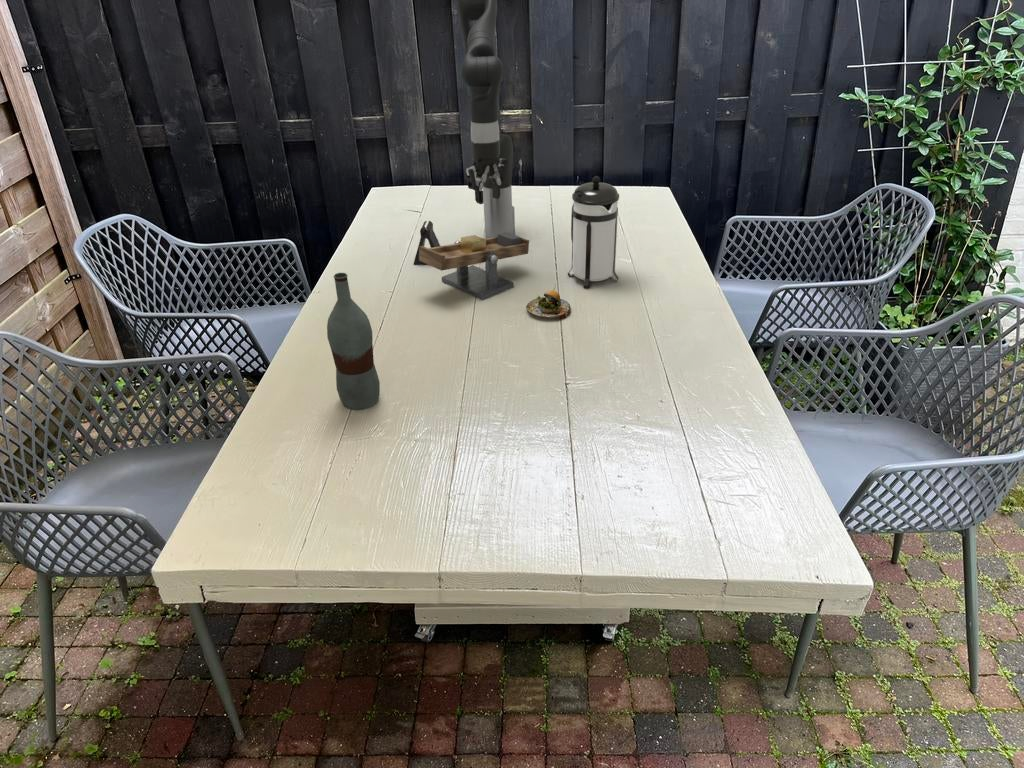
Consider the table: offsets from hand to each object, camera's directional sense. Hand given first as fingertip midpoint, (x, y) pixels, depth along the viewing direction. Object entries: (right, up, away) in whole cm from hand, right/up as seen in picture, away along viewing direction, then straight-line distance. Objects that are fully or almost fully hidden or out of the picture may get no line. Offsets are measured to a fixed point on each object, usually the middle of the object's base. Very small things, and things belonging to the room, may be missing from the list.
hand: (488, 200), depth 205 cm
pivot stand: (-3, -22, +9) cm, 24 cm away
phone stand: (-19, -13, +25) cm, 34 cm away
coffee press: (+29, -20, +12) cm, 37 cm away
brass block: (-4, -14, +3) cm, 15 cm away
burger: (+16, -32, -6) cm, 36 cm away
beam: (-4, -15, +5) cm, 16 cm away
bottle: (-27, -55, -41) cm, 73 cm away
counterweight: (+6, -10, +12) cm, 17 cm away
